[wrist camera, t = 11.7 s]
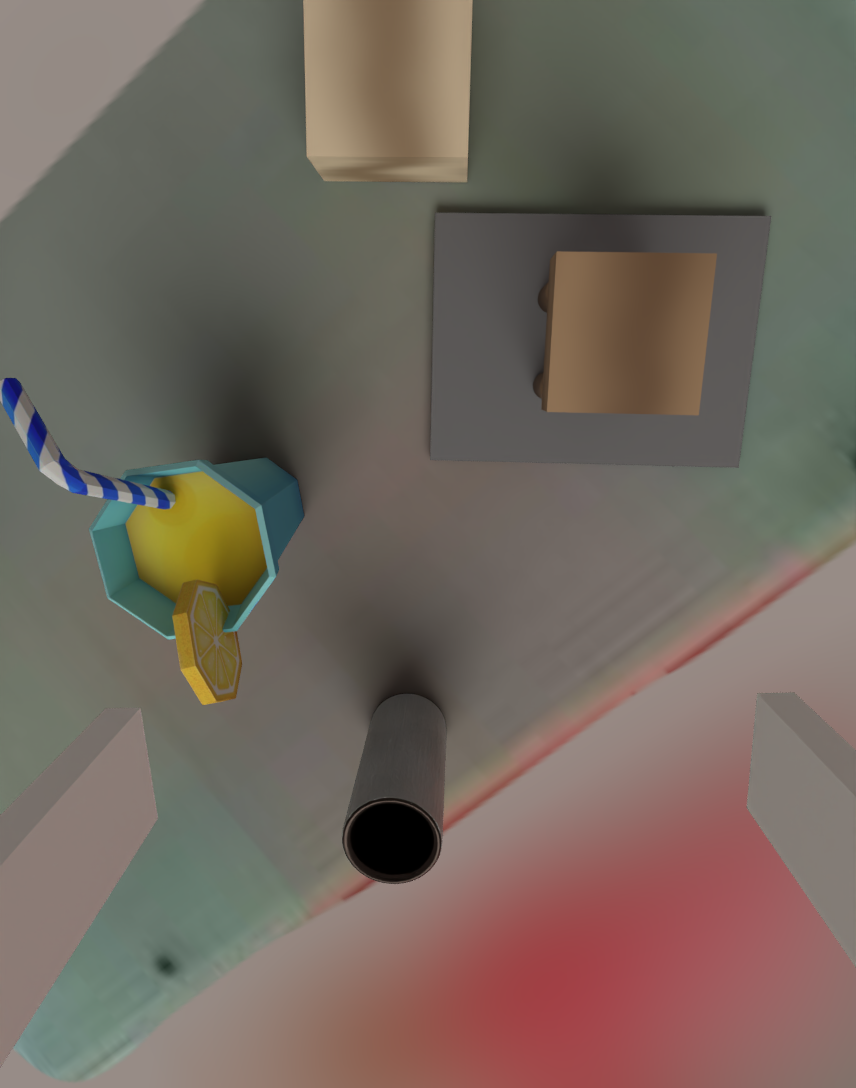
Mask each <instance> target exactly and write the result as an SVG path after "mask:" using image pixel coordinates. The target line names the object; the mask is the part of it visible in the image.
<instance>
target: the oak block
mask: <svg viewBox="0 0 856 1088" xmlns="http://www.w3.org/2000/svg"><path fill="white" fill-rule="evenodd" d="M472 3H473V0H303V4H304V50H305V97H306V143H307V157H308V159H309V160H310V161H311V163H312V164H313V166H314V167H315V168H316V170H317V171H318V173H319V174H320V175H321V177H322V178H323V180H324V181H372V182H467V169H468V136H469V103H470V69H471V36H472Z"/></svg>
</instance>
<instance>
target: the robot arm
mask: <svg viewBox="0 0 856 1088" xmlns="http://www.w3.org/2000/svg"><path fill="white" fill-rule="evenodd" d="M747 809H748V810H749V812H750V813H751V815H752V816H753V818H754V819H755V821H756V822H757V824H758V825H759V826H760V828H761V829H762V831H763V832H764V834H765V835H766V837H767V838H768V840H769V841H770V843H771V844H772V846H773V847H774V848H775V850H776V851H777V853H778V854H779V856H780V857H781V859H782V860H783V862H784V863H785V865H786V866H787V867H788V869H789V870H790V872H791V873H792V875H793V876H794V878H795V879H796V881H797V882H798V884H799V885H800V886H801V888H802V889H803V891H804V892H805V894H806V895H807V897H808V898H809V900H810V901H811V903H812V904H813V906H814V907H815V908H816V910H817V911H818V913H819V914H820V916H821V917H822V919H823V920H824V922H825V923H826V925H827V926H828V928H829V929H830V930H831V932H832V933H833V935H834V936H835V938H836V939H837V941H838V942H839V944H840V945H841V946H842V948H843V949H844V951H845V952H846V954H847V955H848V957H849V958H850V960H851V961H852V963H853V964H854V965H855V967H856V750H855V749H854V748H853V747H852V746H851V745H850V744H849V743H848V742H846V741H845V740H844V739H843V738H842V737H841V736H840V735H839V734H838V733H837V732H836V731H835V730H834V729H833V728H832V727H830V726H829V725H828V724H827V723H826V722H825V721H824V720H823V719H822V718H821V717H820V716H819V715H817V713H816V712H815V711H813V710H812V709H811V708H810V707H809V706H808V705H807V704H806V703H805V702H804V701H803V700H802V699H800V697H798V696H797V695H796V694H795V693H757V701H756V711H755V722H754V734H753V745H752V755H751V767H750V777H749V788H748V799H747ZM157 819H158V816H157V809H156V803H155V797H154V790H153V784H152V778H151V771H150V765H149V759H148V752H147V746H146V740H145V733H144V727H143V721H142V714H141V708H106V709H105V710H104V711H103V712H102V713H101V714H100V715H99V716H98V717H97V718H96V719H95V720H94V721H93V722H92V723H91V724H90V725H89V726H88V727H87V728H86V729H85V730H84V731H83V732H82V733H81V734H80V735H79V736H78V737H77V738H76V739H75V740H74V741H73V742H72V743H71V744H70V745H69V746H68V747H67V748H66V749H65V750H64V751H63V752H62V753H61V754H60V755H59V756H58V757H57V758H56V759H55V760H54V761H53V762H52V763H51V764H50V765H49V766H48V767H47V768H46V769H45V770H44V771H43V772H42V774H41V775H40V776H39V777H38V778H37V779H36V780H35V781H34V782H33V783H32V784H31V785H30V786H29V787H28V788H27V789H26V790H25V791H24V792H23V793H22V794H21V795H20V796H19V797H18V798H17V799H16V800H15V801H14V802H13V803H12V804H11V805H10V806H9V807H8V808H7V809H6V810H5V811H4V812H3V813H2V814H1V815H0V1068H1V1066H2V1065H3V1063H4V1061H5V1060H6V1058H7V1057H8V1055H9V1053H10V1051H11V1050H12V1049H13V1047H14V1046H15V1044H16V1042H17V1041H18V1039H19V1038H20V1036H21V1034H22V1033H23V1031H24V1030H25V1028H26V1027H27V1025H28V1023H29V1022H30V1020H31V1019H32V1017H33V1015H34V1014H35V1012H36V1011H37V1009H38V1008H39V1006H40V1004H41V1003H42V1001H43V1000H44V998H45V996H46V995H47V993H48V992H49V990H50V989H51V987H52V985H53V984H54V982H55V981H56V979H57V977H58V976H59V974H60V973H61V971H62V969H63V968H64V966H65V965H66V963H67V962H68V960H69V958H70V957H71V955H72V954H73V952H74V950H75V949H76V947H77V946H78V944H79V943H80V941H81V939H82V938H83V936H84V935H85V933H86V931H87V930H88V928H89V927H90V925H91V924H92V922H93V920H94V919H95V917H96V916H97V914H98V912H99V911H100V909H101V908H102V906H103V905H104V903H105V901H106V900H107V898H108V897H109V895H110V893H111V892H112V890H113V889H114V887H115V886H116V884H117V882H118V881H119V879H120V878H121V876H122V874H123V873H124V871H125V870H126V868H127V867H128V865H129V863H130V862H131V860H132V859H133V857H134V855H135V854H136V852H137V851H138V849H139V848H140V846H141V844H142V843H143V841H144V840H145V838H146V836H147V835H148V833H149V832H150V830H151V829H152V827H153V825H154V824H155V822H156V821H157Z"/></svg>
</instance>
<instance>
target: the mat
mask: <svg viewBox="0 0 856 1088" xmlns="http://www.w3.org/2000/svg"><path fill="white" fill-rule="evenodd" d="M770 222H771V216H709V215H612V214H515V213H435V248H434V298H433V348H432V398H431V449H430V460H455V461H495V462H535V463H575V464H615V465H655V466H695V467H735V468H739V461H740V453H741V445H742V438H743V430H744V422H745V414H746V407H747V399H748V391H749V384H750V376H751V368H752V361H753V353H754V345H755V337H756V330H757V322H758V314H759V307H760V299H761V291H762V284H763V276H764V268H765V260H766V253H767V245H768V237H769V230H770ZM557 251H561V252H641V253H717V259H716V268H715V276H714V285H713V294H712V303H711V312H710V320H709V329H708V338H707V347H706V356H705V364H704V373H703V382H702V391H701V400H700V409H699V415H659V414H614V413H568V412H546V411H544V410H541V406H542V399H541V398H539V397H538V396H537V395H536V394H535V393H534V390H533V382H534V380H535V378H536V377H537V376H538V375H539V374H540V373H542V372H543V371H544V354H545V337H546V320H547V313H546V312H544V311H543V310H542V309H541V308H540V306H539V304H538V294H539V292H540V290H541V289H542V288H543V287H544V286H545V285H546V284H547V283H548V282H549V269H550V259H551V258H552V257H553V255H554V254H555V253H556V252H557Z"/></svg>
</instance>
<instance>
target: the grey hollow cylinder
mask: <svg viewBox="0 0 856 1088" xmlns="http://www.w3.org/2000/svg"><path fill="white" fill-rule="evenodd" d="M445 760H446V723H445V719H444V716H443V714H442V712H441V711H440V709H439V708H438V707H437V706H436V705H435V704H434V703H433V702H431V701H430V700H428V699H427V698H425V697H422V696H419V695H415V694H399V695H395V696H393V697H390V698H388V699H387V700H385V701H384V702H382V703H381V704H380V705H379V706H378V708H377V709H376V711H375V712H374V714H373V717H372V719H371V722H370V726H369V730H368V734H367V738H366V741H365V745H364V749H363V753H362V757H361V761H360V765H359V769H358V772H357V776H356V780H355V784H354V788H353V792H352V796H351V800H350V804H349V807H348V811H347V815H346V819H345V823H344V827H343V832H342V844H343V848H344V851H345V854H346V856H347V858H348V860H349V861H350V863H351V864H352V865H353V866H354V867H355V868H356V869H357V870H358V871H359V872H360V873H362V874H363V875H365V876H366V877H368V878H370V879H373V880H375V881H378V882H382V883H389V884H399V883H406V882H410V881H413V880H415V879H417V878H420V877H421V876H423V875H424V874H426V873H427V872H428V871H429V870H430V869H431V868H432V867H433V866H434V865H435V863H436V862H437V860H438V858H439V856H440V852H441V848H442V836H443V811H444V785H445Z"/></svg>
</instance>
